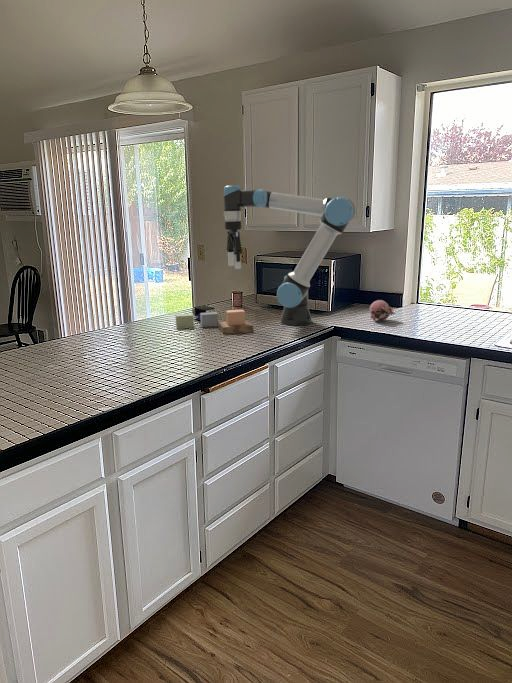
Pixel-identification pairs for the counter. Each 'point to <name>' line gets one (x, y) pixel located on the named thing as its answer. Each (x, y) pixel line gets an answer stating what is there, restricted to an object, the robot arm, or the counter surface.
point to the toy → (380, 310)
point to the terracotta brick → (235, 317)
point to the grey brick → (209, 319)
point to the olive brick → (184, 321)
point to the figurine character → (200, 310)
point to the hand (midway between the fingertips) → (234, 267)
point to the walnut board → (235, 327)
